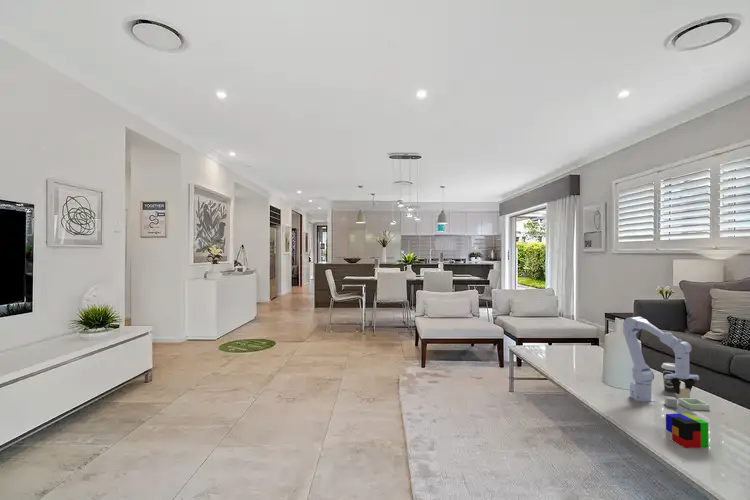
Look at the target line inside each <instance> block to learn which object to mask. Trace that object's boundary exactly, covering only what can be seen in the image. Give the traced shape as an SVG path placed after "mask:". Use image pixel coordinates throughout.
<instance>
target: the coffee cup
mask: <svg viewBox="0 0 750 500" xmlns="http://www.w3.org/2000/svg"><path fill="white" fill-rule="evenodd" d="M660 368H662V369H661V370H662V377H663V388H664V391H666V392H669V393H674V394H675V389H674V386H673V384H672V382H671V380H670V379H667V378H666V374H675V363H671V362H663V363H662V364H661V367H660ZM678 380H679V381H681V379H678Z"/></svg>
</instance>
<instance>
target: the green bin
mask: <svg viewBox="0 0 750 500" xmlns="http://www.w3.org/2000/svg"><path fill="white" fill-rule="evenodd" d="M677 404H678V405H680V406H682V407H684V408H686V409H687V410H689V411H693V410H696V411H697V410H698V411H710V404H709V403H706V402H705V401H703V400H701V399H699V398H691V397H690V398H680V397H678V398H677Z"/></svg>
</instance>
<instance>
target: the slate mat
mask: <svg viewBox="0 0 750 500" xmlns="http://www.w3.org/2000/svg"><path fill="white" fill-rule="evenodd" d="M662 406H664V407H666V408H668V409H670V410H672V411H673V412H675V414H682V413H688V414H690V415H692V416H697V414H696V413H695V412H693V411H692V410H690V409H688V408H686V407H685V406H683V405H681V404H677V408H676V407H667V406H666V405H665V403H662Z"/></svg>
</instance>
